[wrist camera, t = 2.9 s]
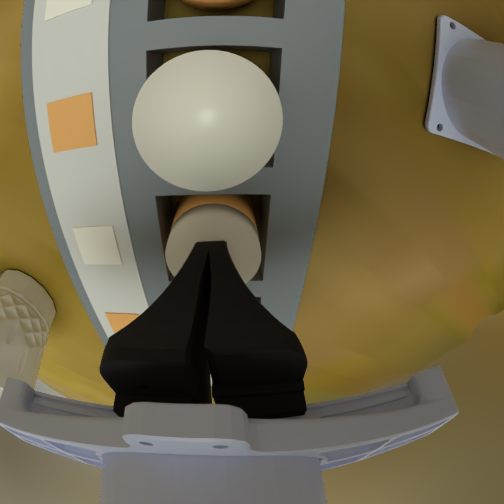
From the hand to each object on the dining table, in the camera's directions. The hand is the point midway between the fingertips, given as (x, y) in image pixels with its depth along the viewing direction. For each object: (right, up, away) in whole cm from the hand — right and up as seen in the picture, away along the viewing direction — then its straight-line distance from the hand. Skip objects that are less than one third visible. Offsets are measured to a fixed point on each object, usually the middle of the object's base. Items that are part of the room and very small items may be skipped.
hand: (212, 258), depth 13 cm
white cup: (-19, -4, +7) cm, 20 cm away
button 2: (0, +6, -2) cm, 7 cm away
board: (-2, +5, +1) cm, 6 cm away
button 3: (0, +2, +3) cm, 4 cm away
